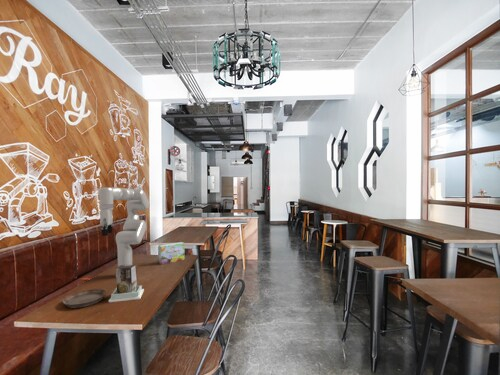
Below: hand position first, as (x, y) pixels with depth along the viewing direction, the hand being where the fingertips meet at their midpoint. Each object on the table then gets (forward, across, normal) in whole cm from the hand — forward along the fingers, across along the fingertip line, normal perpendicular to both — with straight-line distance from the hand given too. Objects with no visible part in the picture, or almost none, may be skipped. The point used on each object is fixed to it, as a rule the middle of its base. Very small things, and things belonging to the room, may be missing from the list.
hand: (107, 234), depth 170 cm
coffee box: (+32, +19, +15) cm, 40 cm away
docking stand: (+33, +19, +15) cm, 41 cm away
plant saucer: (+34, +20, -6) cm, 40 cm away
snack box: (+34, -50, +35) cm, 70 cm away
